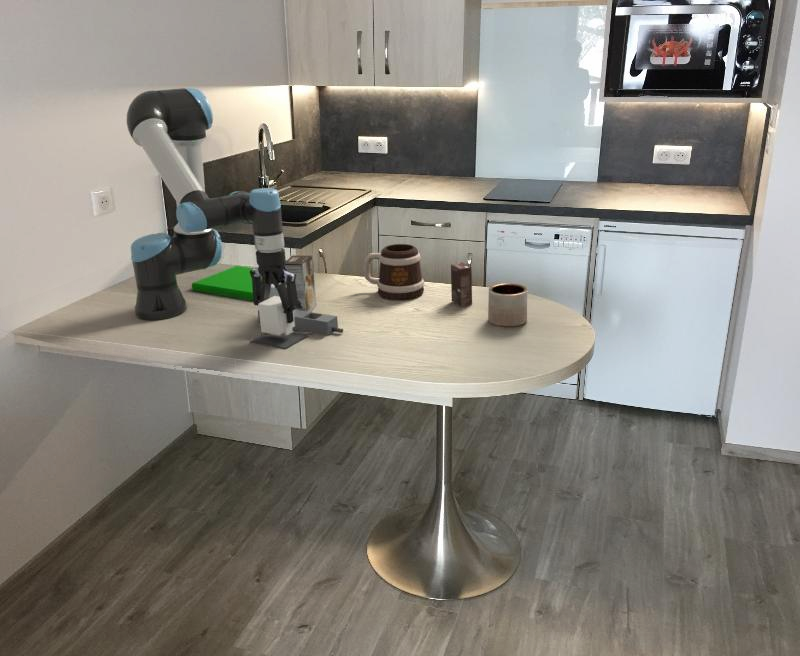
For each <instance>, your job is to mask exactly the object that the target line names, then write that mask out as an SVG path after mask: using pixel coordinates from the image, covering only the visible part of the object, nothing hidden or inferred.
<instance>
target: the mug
mask: <svg viewBox="0 0 800 656" xmlns="http://www.w3.org/2000/svg"><path fill="white" fill-rule="evenodd" d="M421 258H422V257H421V254H420V252H419V250H418V248H417V247H416V246H415V245H412V244H406V243H397V244H396V243H395V244H389V245H386V246H384V247H383V248H382V249H381V251H380V252H371V253H369V254H368V255H366V257H365V259H364V261H363V265H362V266H363V267H362V268H363V270H362V271H363V275H364V279H365V280H366V281H368V283H370V284H372V285H376V286H377V293H378V295H379V296H380V297H382V298H383V299H387V300H393V301H405V300H406V301H407V300H412V299H416V298H419V297H420V296H421V295H422V294H424V292H425V289H424V288H425V287H424V285H425V281H424V278H423V276H422V270H421V269H422V268H421V261H420V260H421ZM373 260H379V273H378V274H379V276H378V278H375V277H372V275H371V273H370V272H371V271H370V263H371V262H372V261H373Z"/></svg>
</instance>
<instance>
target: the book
mask: <svg viewBox="0 0 800 656" xmlns="http://www.w3.org/2000/svg"><path fill="white" fill-rule="evenodd" d="M255 268H256V267H255ZM255 268H254V267H248V266H240V265H236V266H233V267H230V268H227V269H225V270H223V271H220V272H217V273H214V274H212V275H210V276H207V277H203V278H202V279H199V280H197V281H193V282H192V284H191V290H192V291H195V292H199V293H201V292H202V293H207V294H212V295H218V296H223V295H224V296H225V297H229V296H230V298H235V297H236V298H237V299H242V300H248V301H253V289H252V278H251V275H250V271H251V270H253V269H255ZM261 282H262V276H261Z"/></svg>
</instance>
